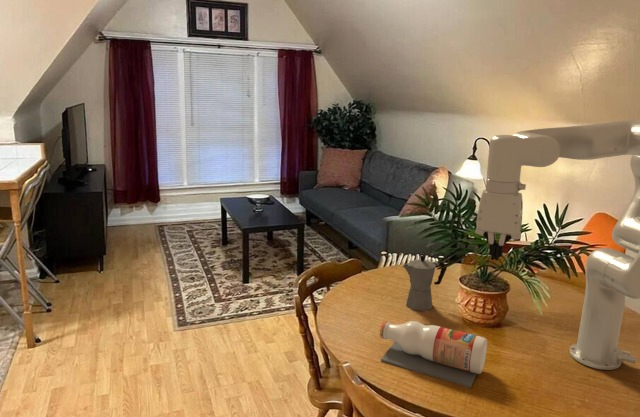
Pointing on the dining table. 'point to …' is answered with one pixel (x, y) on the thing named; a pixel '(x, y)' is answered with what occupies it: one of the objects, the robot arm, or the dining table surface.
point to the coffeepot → (422, 282)
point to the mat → (427, 366)
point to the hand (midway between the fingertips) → (495, 258)
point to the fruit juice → (438, 344)
